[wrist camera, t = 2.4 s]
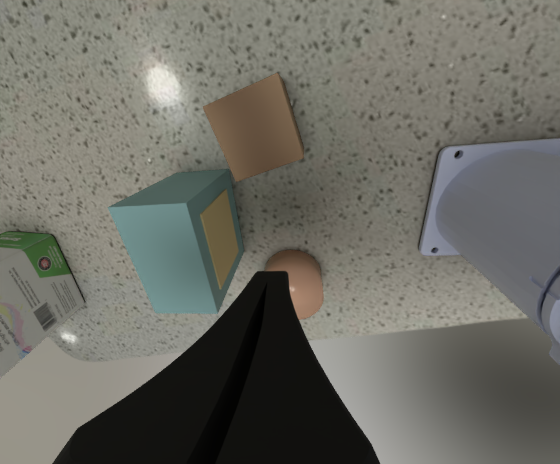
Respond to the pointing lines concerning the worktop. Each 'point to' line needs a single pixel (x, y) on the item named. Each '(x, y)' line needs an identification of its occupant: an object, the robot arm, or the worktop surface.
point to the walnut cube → (256, 128)
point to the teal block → (183, 240)
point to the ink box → (32, 293)
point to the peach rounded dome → (300, 280)
